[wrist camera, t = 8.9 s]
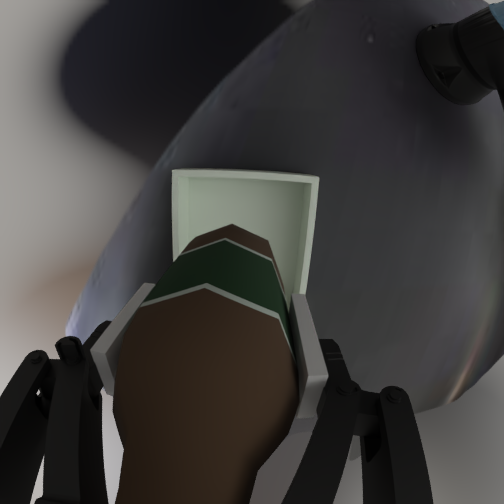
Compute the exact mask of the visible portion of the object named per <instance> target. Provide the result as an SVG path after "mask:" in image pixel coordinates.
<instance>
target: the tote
mask: <svg viewBox="0 0 504 504" xmlns="http://www.w3.org/2000/svg"><path fill="white" fill-rule="evenodd" d="M318 185H319V177H317V176H314V175H310V174H301V173H289V172H277V171H262V170H244V169H216V168H182V169H175V170H172V238H173V262H174V261H175V260H176V259H177V257H178V256H179V255H180V254H181V252H182V251H183V250H184V249H185V247H186V246H187V245H188V244H189V242H191V241H192V240H193V239H194V238H195V237H196V236H199V235H202V234H205V233H207V232H210V231H213V230H216V229H218V228H221V227H224V226H227V225H230V224H234V225H236V226H238V227H240V228H243V229H245V230H247V231H249V232H251V233H253V234H256V235H258V236H260V237H262V238H264V239H266V240H268V241H269V244H270V247H271V250H272V252H273V255H274V258H275V261H276V264H277V267H278V270H279V272H280V275H281V279H282V282H283V285H284V290H285V296H286V301H287V307H288V313H289V307H290V300H291V294H305V293H306V286H307V279H308V272H309V265H310V258H311V250H312V242H313V234H314V225H315V216H316V206H317V196H318Z"/></svg>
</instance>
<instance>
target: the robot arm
mask: <svg viewBox="0 0 504 504" xmlns="http://www.w3.org/2000/svg"><path fill="white" fill-rule="evenodd" d="M416 49H417V55H418V59H419V62H420V64H421V66H422V69H423V71H424V73H425V74H426V76H427V78H428V79H429V81H430V82H431V83H432V85H433V86H434V87H435V88H436V89H437V90H438V91H439V92H440V93H441V94H442V95H443V96H444V97H445V98H447V99H448V100H450V101H451V102H453V103H456V104H459V105H469V104H475V103H477V102H479V101H480V100H481V99H482V98H483V97H485V96H486V95H488V94H489V93H490V92H491V91H493V90H497V91H498V94H499V97H500V100H501V103H502V107H503V110H504V1H502V2H499V3H496V4H495V3H493V4H490V5H489V6H488V7H486V8H484V9H482V10H480V11H478V12H476V13H474V14H472V15H470V16H468V17H467V18H465V19H463V20H461V21H459V22H457V23H446V24H434V25H430V26H428V27H427V28H425V29H424V30H422V31H421V32H420V33H419V35H418V37H417V42H416ZM155 286H156V284H151V283H144V284H143V285H142V286H141V287H140V288H139V290H138V291H137V292H136V293H135V294H134V295H133V297H132V298H131V299H130V300H129V301H128V303H127V304H126V305H125V306H124V308H123V309H122V310H121V311H120V312H119V314H118V315H117V316H116V317H115V319H114V320H113V321H107V320H106V321H105V322H103V323H102V324H100V325H99V326H98V327H97V328H96V329H95V330H94V332H93V333H92V334H91V336H90V337H89V338H88V339H87V340H86V341H85V343H84V344H83V345H82V343H81V341H80V339H79V338H77V337H74V336H68V337H64V338H61V339H60V340H59V341H57V342H56V344H55V347H56V350H57V352H58V355H59V357H60V359H49V357H48V355H47V353H46V352H45V351H42V350H36V351H32V352H30V353H29V354H28V355H27V356H26V357H25V359H24V360H23V362H22V363H21V365H20V366H19V368H18V369H17V371H16V372H15V374H14V375H13V377H12V378H11V380H10V382H9V383H8V385H7V387H6V388H5V390H4V391H3V393H2V395H1V396H0V504H30V501H31V497H32V493H33V489H34V486H35V482H36V479H37V475H38V472H39V469H40V466H41V462H42V459H43V456H44V473H43V474H44V475H43V496H42V497H40V498H38V499H36V501H35V503H34V504H108V497H107V490H106V481H105V472H104V459H103V442H102V395H101V393H100V391H101V389H102V387H103V386H104V389H105V391H106V393H107V394H108V395H112V396H113V395H114V383H115V376H116V371H117V366H118V360H119V355H120V350H121V346H122V341H123V337H124V334H125V332H126V330H127V329H128V327H129V325H130V323H131V321H132V319H133V318H134V316H135V314H136V312H137V310H138V309H139V307H140V306H141V304H142V303H143V302H144V300H145V299H146V298H147V296H148V295H149V294H150V292H151V291H152V290H153V288H154V287H155ZM289 319H290V325H291V331H292V336H293V342H294V348H295V354H296V361H297V367H298V375H299V397H300V403H299V406H298V408H297V411H296V417H297V418H314V416H315V413H316V411H317V415H318V420H317V422H316V425H315V427H314V430H313V432H312V435H311V438H310V441H309V443H308V446H307V448H306V451H305V453H304V455H303V458H302V460H301V463H300V465H299V468H298V470H297V472H296V474H295V476H294V478H293V481H292V483H291V485H290V487H289V489H288V491H287V493H286V495H285V497H284V499H283V501H282V503H281V504H333V501H334V498H335V495H336V493H337V489H338V487H339V483H340V480H341V477H342V474H343V470H344V467H345V463H346V459H347V456H348V452H349V449H350V445H351V441H352V436H353V435H357V436H360V446H361V460H362V479H363V504H433V499H432V492H431V485H430V480H429V475H428V469H427V465H426V460H425V455H424V451H423V447H422V443H421V439H420V435H419V431H418V427H417V423H416V420H415V417H414V413H413V409H412V406H411V402H410V399H409V396H408V394H407V393H406V392H405V391H404V390H403V389H402V388H399V387H397V386H388V387H385V388H384V389H382V391H381V392H380V393H373V392H367V391H363V390H361V388H360V386H359V385H358V384H357V383H356V382H354V381H352V380H351V378H350V375H349V373H348V370H347V367H346V364H345V362H344V360H343V356H342V354H341V351H340V348H339V345H338V344H337V343H336V342H335V341H334V340H333V339H318V337H317V333H316V330H315V327H314V323H313V320H312V317H311V313H310V310H309V307H308V304H307V300H306V297H305V294H291V300H290V307H289ZM38 389H39V390H40V394H39V395H37V394H36V393H37V391H38ZM44 453H45V454H44Z"/></svg>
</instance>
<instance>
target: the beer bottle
mask: <svg viewBox="0 0 504 504" xmlns="http://www.w3.org/2000/svg"><path fill="white" fill-rule="evenodd" d="M299 403H300V397H299V375H298V367H297V361H296V354H295V348H294V342H293V336H292V331H291V325H290V319H289V313H288V307H287V301H286V296H285V290H284V285H283V282H282V279H281V275H280V272H279V270H278V267H277V264H276V261H275V258H274V255H273V252H272V250H271V247H270V244H269V241H268V240H266V239H264V238H262V237H260V236H258V235H256V234H253V233H251V232H249V231H247V230H245V229H243V228H240V227H238V226H236V225H234V224H230V225H227V226H224V227H221V228H218V229H216V230H213V231H210V232H207V233H205V234H202V235H199V236H196V237H195V238H194V239H193V240H192V241H191V242H189V244H188V245H187V246H186V247H185V249H184V250H183V251H182V252H181V254H180V255H179V256H178V257H177V259H176V260H175V261H174V262H173V264H172V265H171V266H170V267H169V269H168V270H167V271H166V273H165V274H164V275H163V277H162V278H161V279H160V280H159V282H158V283H157V284H156V286H155V287H154V288H153V290H152V291H151V292H150V294H149V295H148V296H147V298H146V299H145V300H144V302H143V303H142V304H141V306H140V307H139V309H138V310H137V312H136V314H135V316H134V318H133V319H132V321H131V323H130V325H129V327H128V329H127V330H126V332H125V334H124V337H123V341H122V346H121V350H120V355H119V360H118V366H117V371H116V376H115V383H114V395H113V415H114V418H115V421H116V426H117V429H118V432H119V436H120V439H121V442H122V445H123V448H124V452H123V460H122V466H121V474H120V481H119V489H118V493H117V497H116V501H115V504H249V502H250V498H251V495H252V491H253V487H254V483H255V480H256V476H257V472H258V470H259V469H260V467H261V466H262V465H263V464H264V463H265V462H266V460H267V459H268V458H269V457H270V456H271V455H272V453H273V452H274V451H275V450H276V449H277V447H278V446H279V445H280V444H281V442H282V441H283V440H284V439H285V437H286V436H287V435H288V433H289V430H290V428H291V425H292V422H293V420H294V417H295V414H296V411H297V408H298V406H299Z"/></svg>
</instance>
